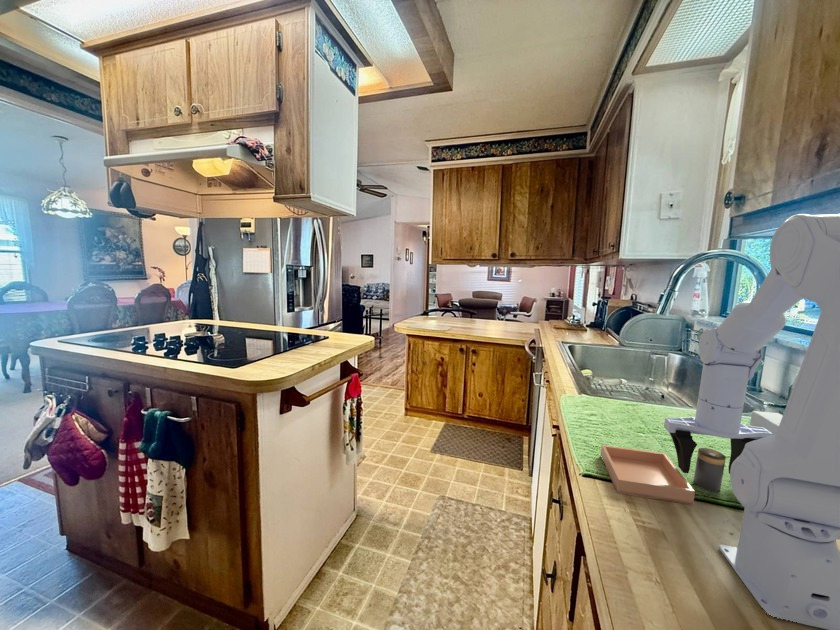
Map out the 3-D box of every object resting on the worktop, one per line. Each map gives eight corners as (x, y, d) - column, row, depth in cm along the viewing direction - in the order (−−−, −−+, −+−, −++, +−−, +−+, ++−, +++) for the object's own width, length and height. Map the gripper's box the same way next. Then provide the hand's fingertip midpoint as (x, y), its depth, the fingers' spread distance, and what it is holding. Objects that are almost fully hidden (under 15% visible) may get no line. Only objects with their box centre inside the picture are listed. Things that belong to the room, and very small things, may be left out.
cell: (725, 493, 56) (730, 461, 55) (700, 489, 57) (705, 458, 56) (712, 479, 60) (717, 449, 59) (689, 476, 61) (693, 446, 60)
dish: (692, 505, 54) (695, 491, 53) (617, 492, 57) (618, 479, 56) (663, 464, 64) (664, 453, 64) (600, 456, 67) (601, 445, 67)
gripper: (755, 396, 58) (743, 466, 60) (660, 387, 62) (652, 454, 64) (788, 414, 51) (772, 492, 54) (679, 403, 55) (668, 477, 57)
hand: (708, 473), depth 58 cm, fingers open, 7 cm apart
